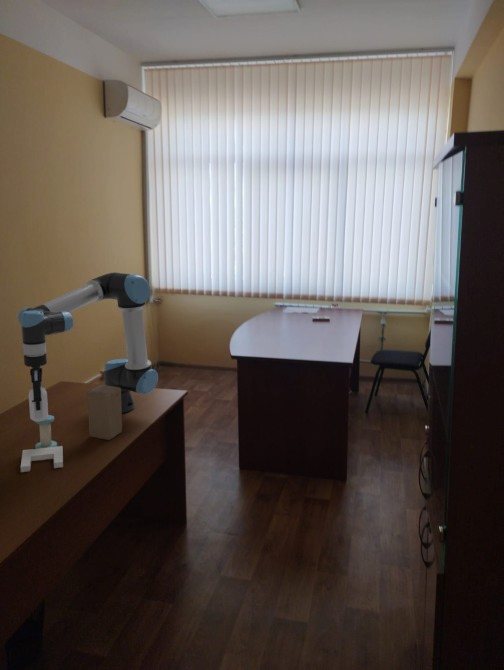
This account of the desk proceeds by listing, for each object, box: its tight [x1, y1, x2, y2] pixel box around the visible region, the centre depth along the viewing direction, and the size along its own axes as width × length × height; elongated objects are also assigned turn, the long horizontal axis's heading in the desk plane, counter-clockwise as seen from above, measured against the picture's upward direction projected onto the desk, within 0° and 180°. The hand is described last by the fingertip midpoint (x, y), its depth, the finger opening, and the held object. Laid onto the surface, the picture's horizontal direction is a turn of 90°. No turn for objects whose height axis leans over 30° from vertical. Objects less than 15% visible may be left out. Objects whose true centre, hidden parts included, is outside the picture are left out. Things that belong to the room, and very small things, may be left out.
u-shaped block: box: [20, 445, 64, 473], centre depth 198 cm, size 14×14×2 cm
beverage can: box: [28, 385, 49, 422], centre depth 197 cm, size 6×6×12 cm
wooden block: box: [87, 384, 123, 441], centre depth 220 cm, size 10×10×20 cm
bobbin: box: [34, 414, 58, 449], centre depth 208 cm, size 8×8×12 cm
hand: (39, 414), depth 198 cm, fingers closed on beverage can, 6 cm apart
